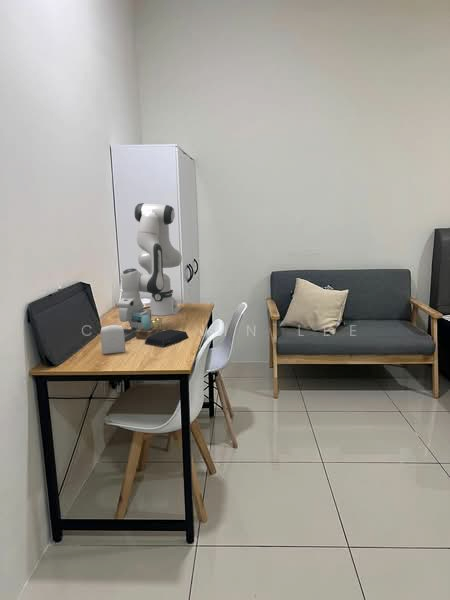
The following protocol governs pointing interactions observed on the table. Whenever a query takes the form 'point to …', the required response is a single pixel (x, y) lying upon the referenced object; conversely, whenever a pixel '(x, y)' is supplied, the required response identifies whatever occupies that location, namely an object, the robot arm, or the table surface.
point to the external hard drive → (166, 338)
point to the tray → (129, 334)
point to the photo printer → (112, 339)
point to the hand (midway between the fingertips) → (132, 326)
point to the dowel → (146, 322)
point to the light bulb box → (139, 318)
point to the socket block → (145, 333)
